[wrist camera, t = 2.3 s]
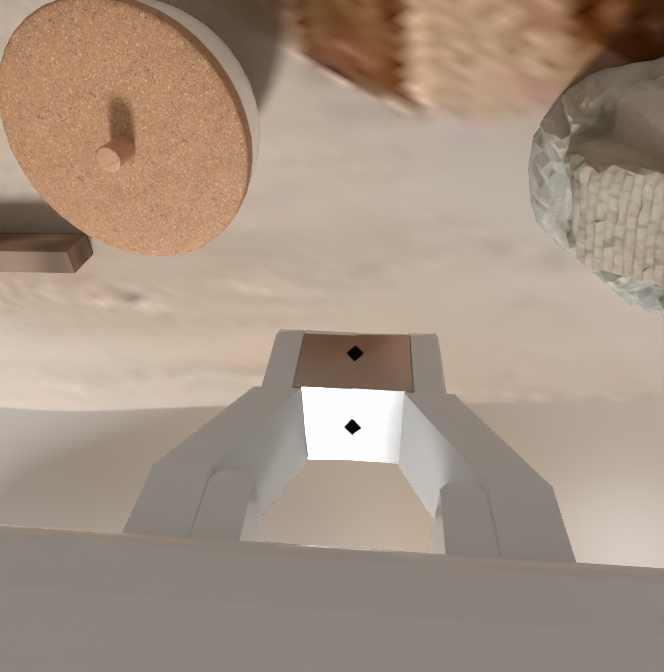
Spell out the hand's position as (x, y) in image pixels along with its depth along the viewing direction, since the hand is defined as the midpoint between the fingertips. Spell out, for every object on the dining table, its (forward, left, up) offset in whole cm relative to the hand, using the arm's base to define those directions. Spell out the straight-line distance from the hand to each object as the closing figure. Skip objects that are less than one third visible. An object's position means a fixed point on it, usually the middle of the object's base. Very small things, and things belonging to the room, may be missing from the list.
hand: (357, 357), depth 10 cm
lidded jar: (+11, 0, -21) cm, 24 cm away
